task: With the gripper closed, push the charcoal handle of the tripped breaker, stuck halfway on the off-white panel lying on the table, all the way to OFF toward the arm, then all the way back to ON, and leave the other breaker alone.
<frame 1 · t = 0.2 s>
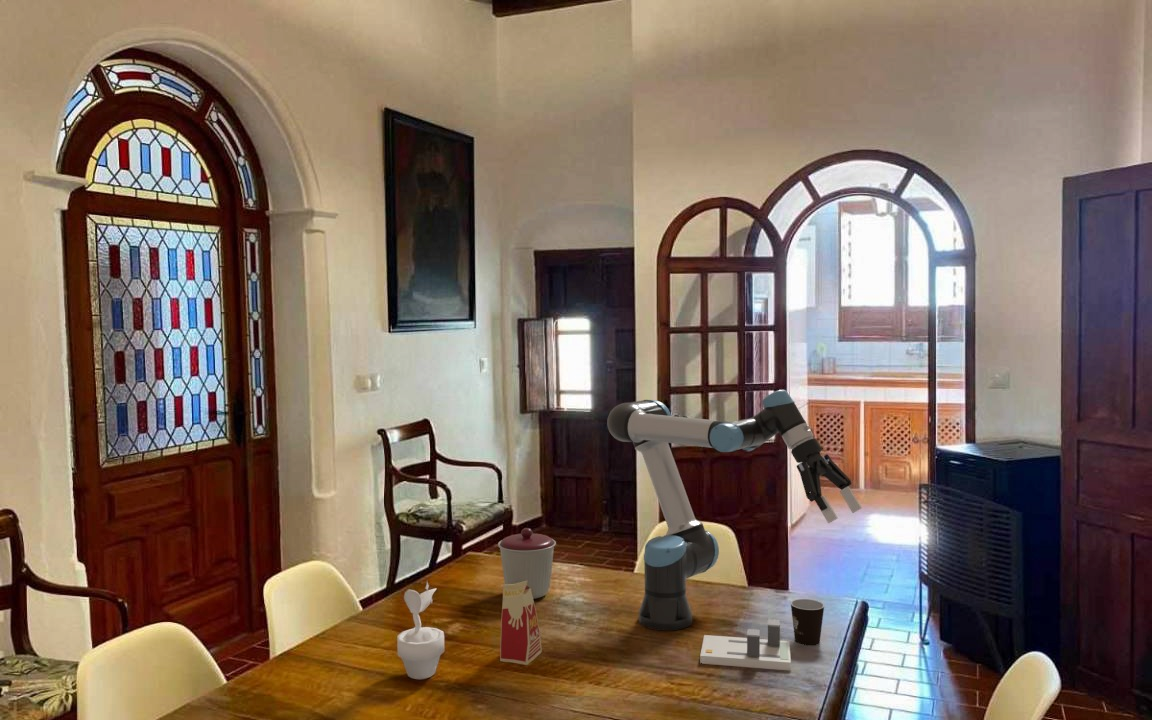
hand: (845, 515, 220), 35 cm above the table, tool tilted 35°, fingers open, 13 cm apart
potted plant: (423, 674, 210), on the table
canister: (527, 595, 268), on the table
milk carton: (518, 657, 220), on the table
tripped breaker: (753, 642, 214), point 5 cm above the table, slide at 5.0 cm
coffee mug: (806, 639, 230), on the table
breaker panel: (745, 655, 219), on the table
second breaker: (773, 632, 221), point 5 cm above the table, slide at 10.0 cm
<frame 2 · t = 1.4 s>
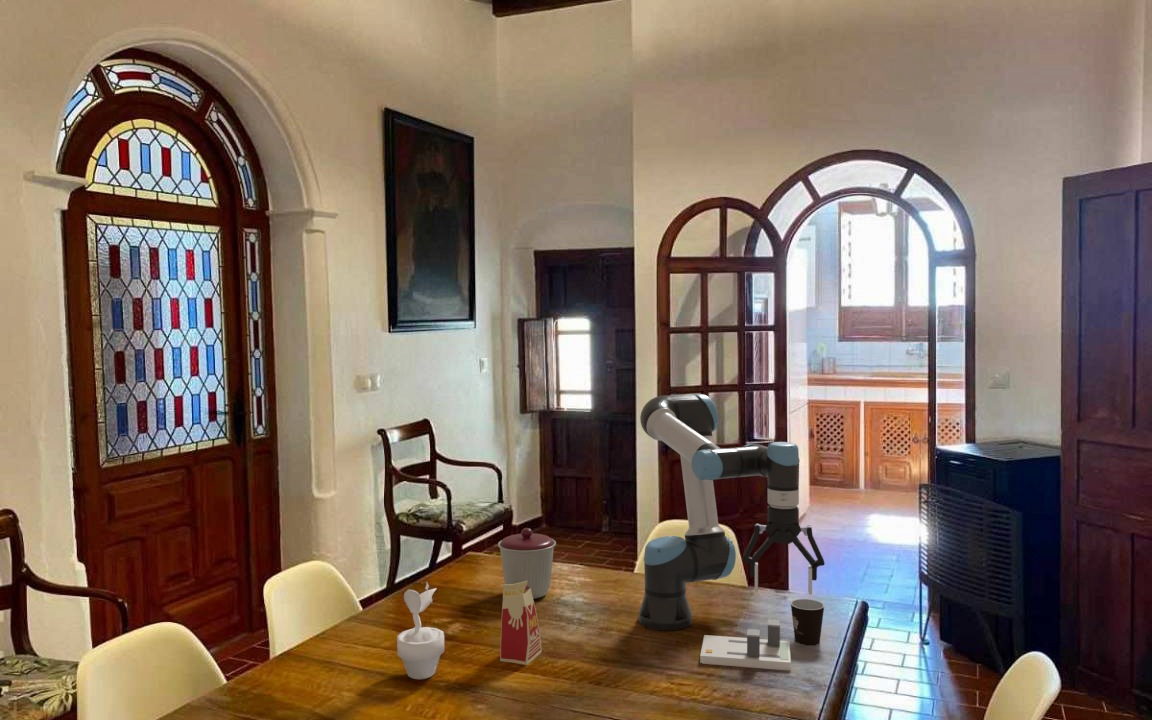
hand: (783, 591, 212), 19 cm above the table, tool pointing down, fingers open, 12 cm apart
nothing on the table moved.
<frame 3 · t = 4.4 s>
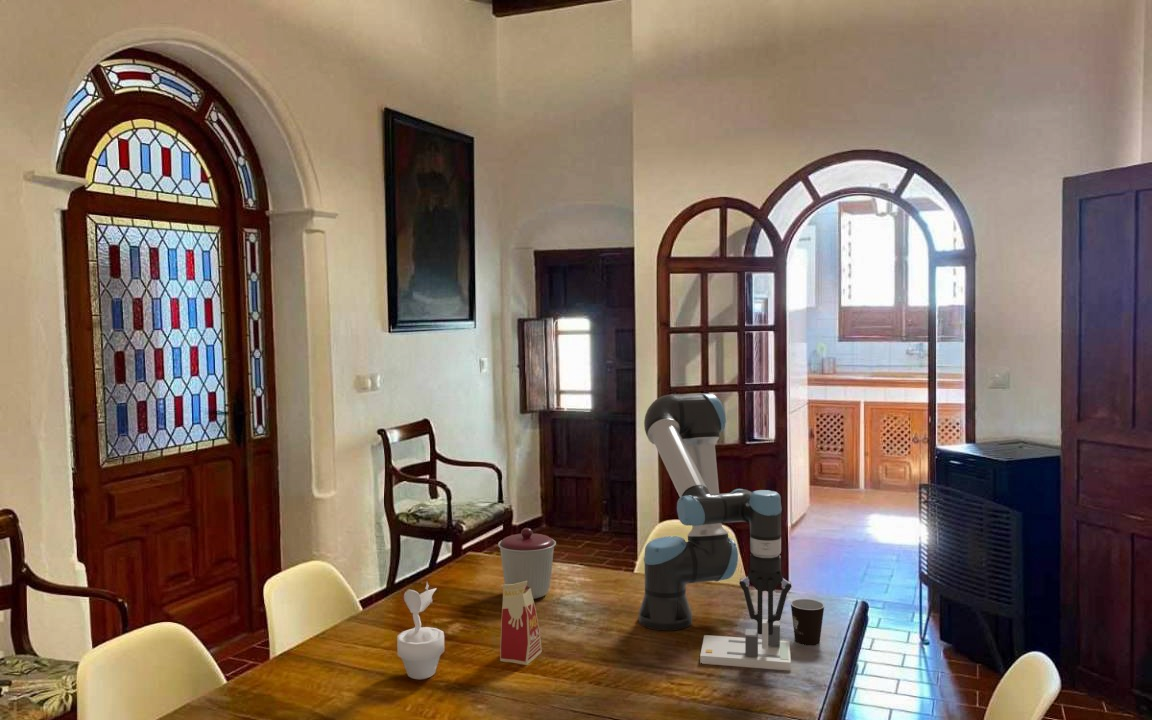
hand: (765, 646, 214), 4 cm above the table, tool pointing down, fingers closed
tripped breaker: (751, 642, 214), point 5 cm above the table, slide at 4.6 cm, touching gripper
everything else where it was.
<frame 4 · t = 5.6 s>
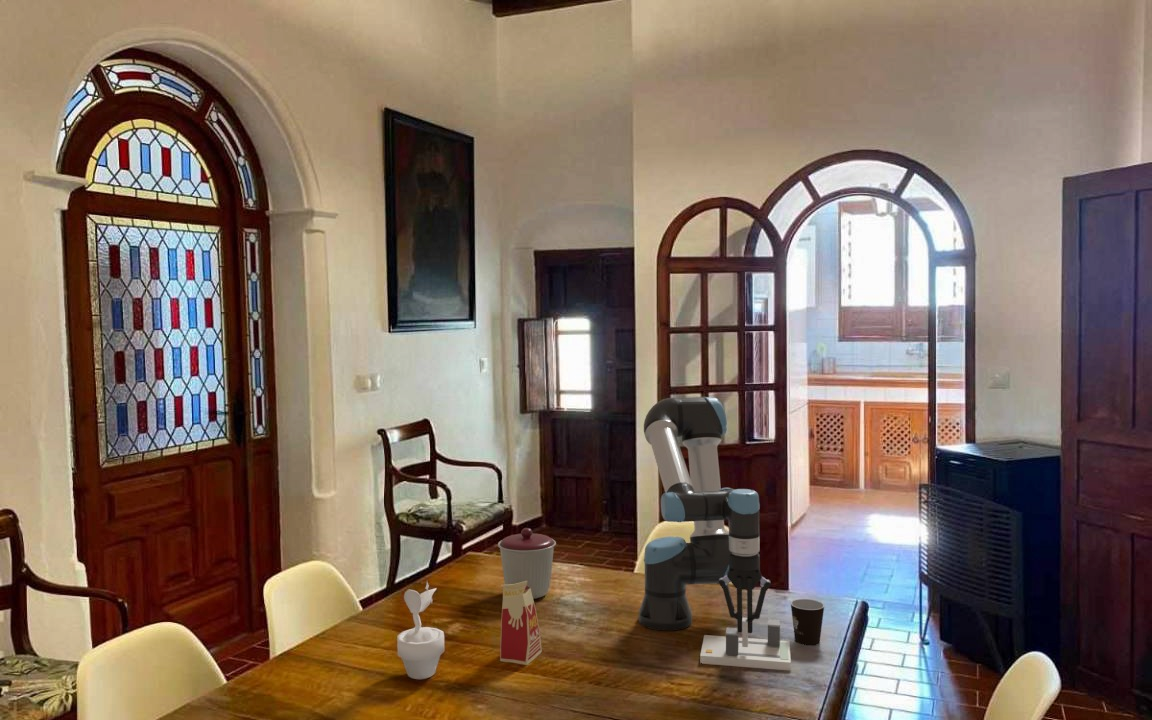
hand: (745, 644, 215), 4 cm above the table, tool pointing down, fingers closed
tripped breaker: (732, 641, 215), point 5 cm above the table, slide at -0.2 cm, touching gripper
everything else where it was.
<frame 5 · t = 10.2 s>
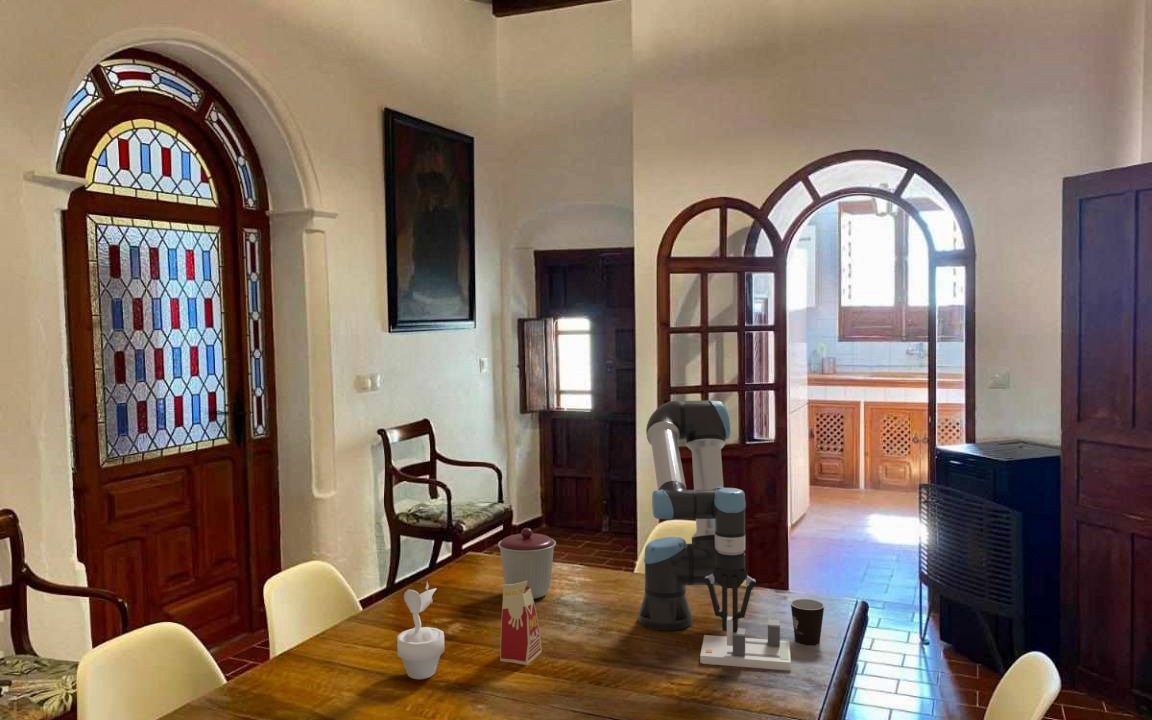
hand: (730, 643, 215), 5 cm above the table, tool pointing down, fingers closed
tripped breaker: (739, 641, 215), point 5 cm above the table, slide at 1.5 cm, touching gripper
everything else where it was.
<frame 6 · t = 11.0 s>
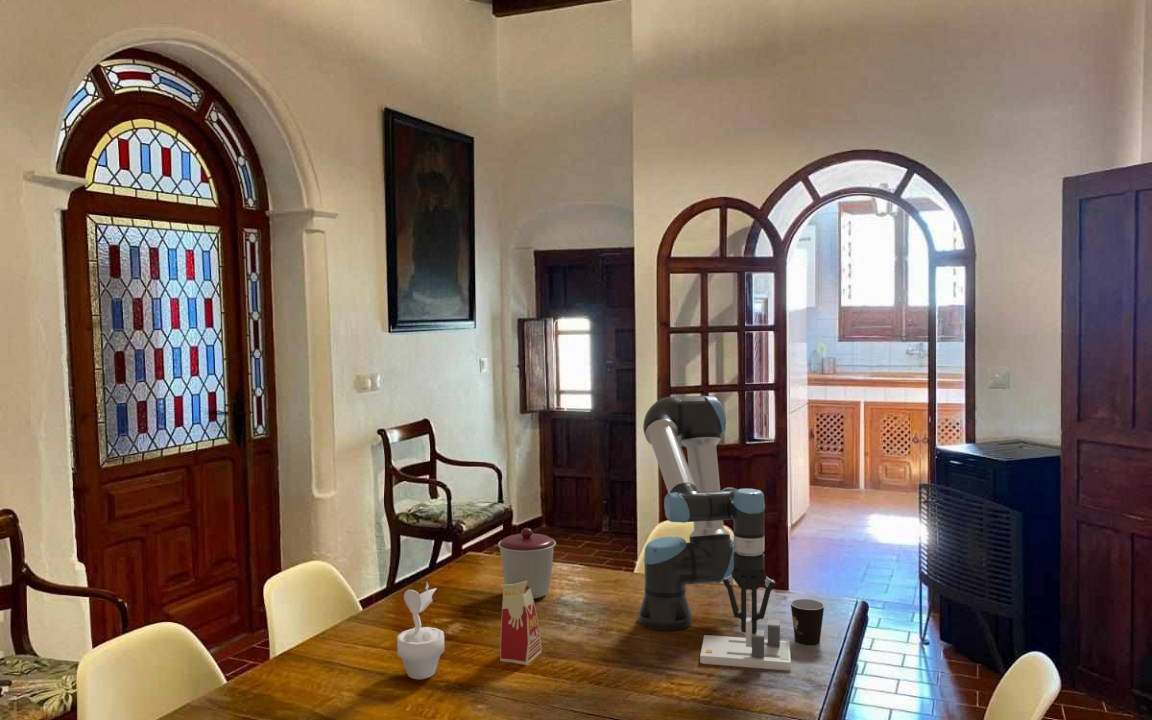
hand: (749, 644, 214), 5 cm above the table, tool pointing down, fingers closed
tripped breaker: (758, 643, 214), point 5 cm above the table, slide at 6.2 cm, touching gripper
everything else where it was.
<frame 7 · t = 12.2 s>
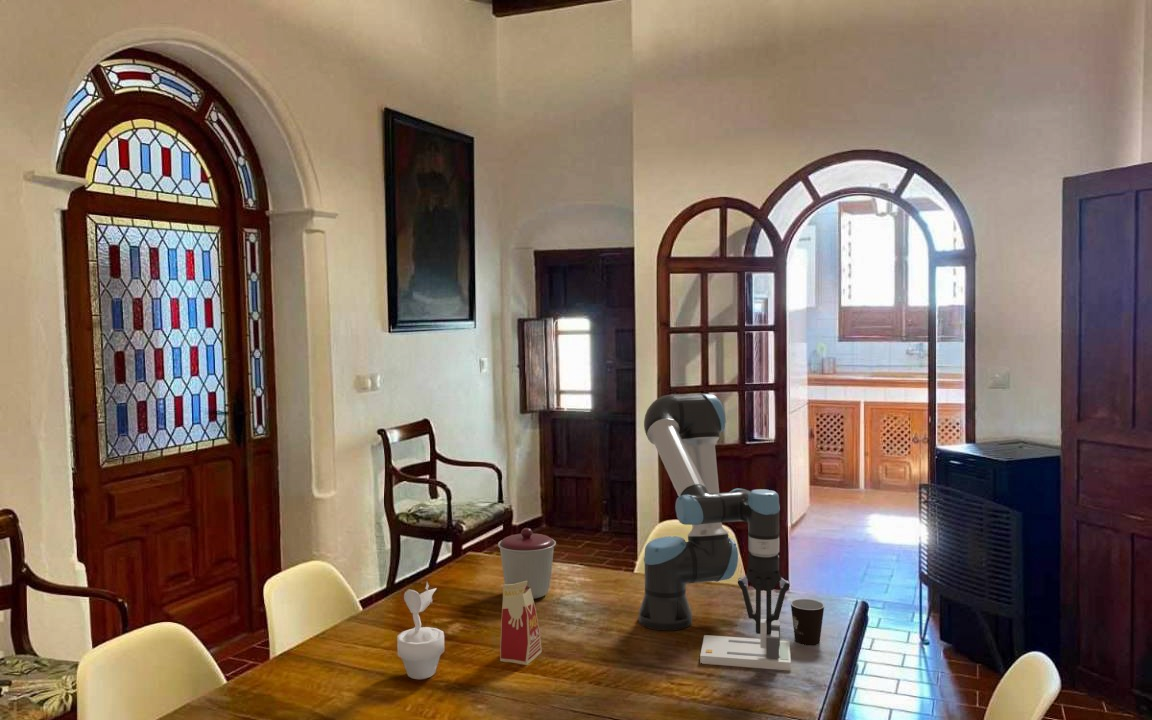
hand: (763, 646, 214), 4 cm above the table, tool pointing down, fingers closed
tripped breaker: (772, 644, 213), point 5 cm above the table, slide at 9.7 cm, touching gripper
everything else where it was.
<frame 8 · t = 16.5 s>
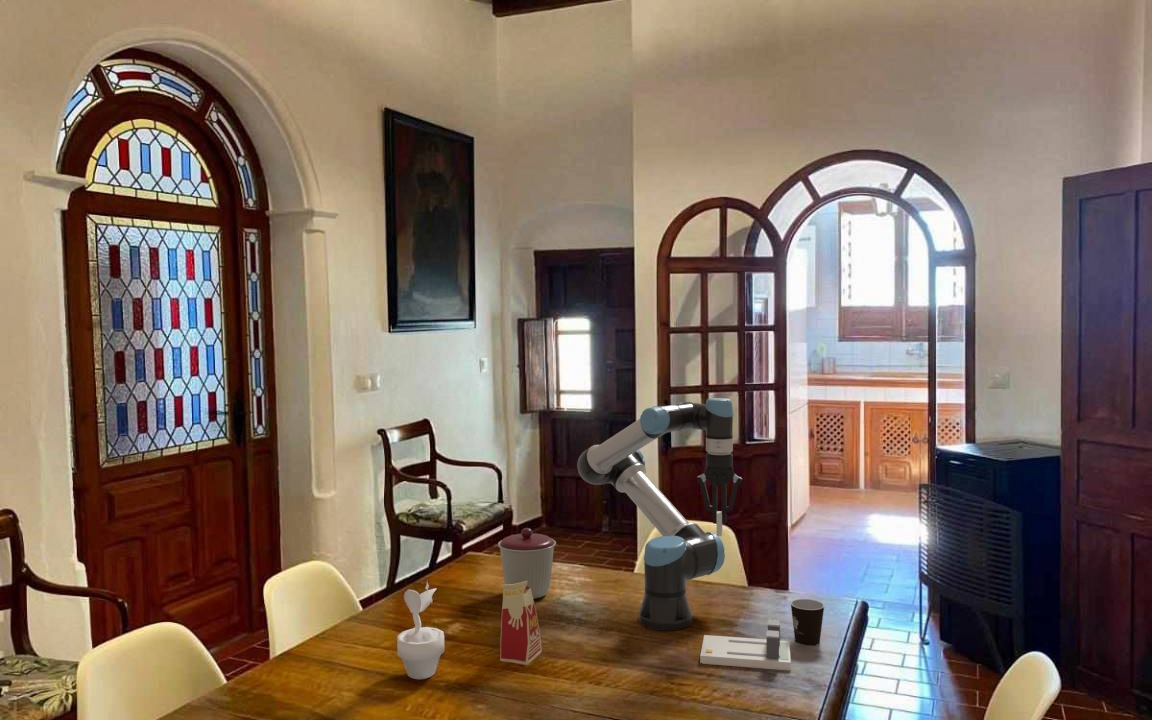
hand: (719, 534, 244), 24 cm above the table, tool pointing down, fingers closed
tripped breaker: (772, 644, 213), point 5 cm above the table, slide at 9.7 cm
everything else where it was.
at the end: tripped breaker slide at 9.7 cm; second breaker slide at 10.0 cm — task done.
